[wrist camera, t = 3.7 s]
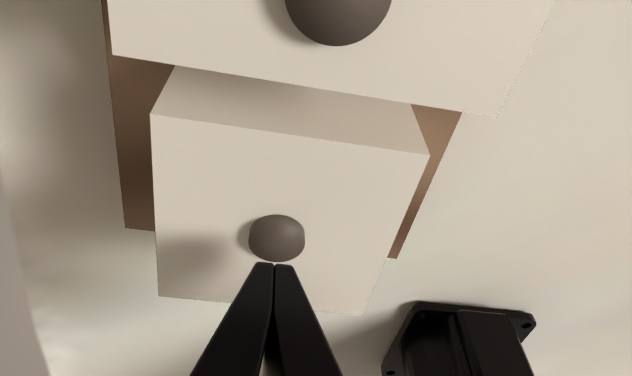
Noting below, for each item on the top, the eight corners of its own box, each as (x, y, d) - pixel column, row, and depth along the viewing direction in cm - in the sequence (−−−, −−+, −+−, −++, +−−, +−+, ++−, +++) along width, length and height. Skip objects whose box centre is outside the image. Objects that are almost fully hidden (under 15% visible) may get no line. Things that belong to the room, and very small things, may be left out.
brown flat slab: (388, 222, 19) (396, 258, 17) (141, 191, 17) (125, 227, 16) (622, -358, 9) (690, -397, 7) (89, -537, 7) (33, -631, 6)
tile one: (353, 243, 16) (363, 323, 13) (180, 223, 15) (155, 305, 13) (405, 92, 12) (433, 163, 10) (180, 54, 11) (145, 121, 9)
